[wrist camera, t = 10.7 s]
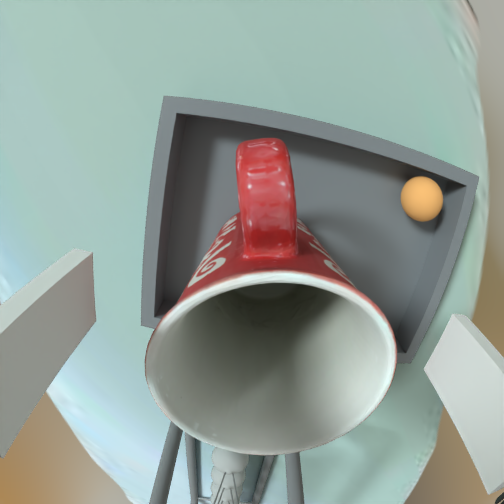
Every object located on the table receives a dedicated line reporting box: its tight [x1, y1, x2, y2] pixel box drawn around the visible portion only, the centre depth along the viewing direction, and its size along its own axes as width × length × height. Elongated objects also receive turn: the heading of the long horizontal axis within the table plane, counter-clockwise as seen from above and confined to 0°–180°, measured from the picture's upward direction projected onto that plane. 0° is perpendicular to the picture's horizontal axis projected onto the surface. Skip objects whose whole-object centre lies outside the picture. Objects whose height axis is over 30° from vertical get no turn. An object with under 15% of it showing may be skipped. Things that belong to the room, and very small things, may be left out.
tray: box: [141, 96, 479, 363], centre depth 21 cm, size 16×22×3 cm
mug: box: [145, 138, 397, 455], centre depth 16 cm, size 13×9×14 cm
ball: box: [401, 176, 443, 222], centre depth 19 cm, size 3×3×3 cm
